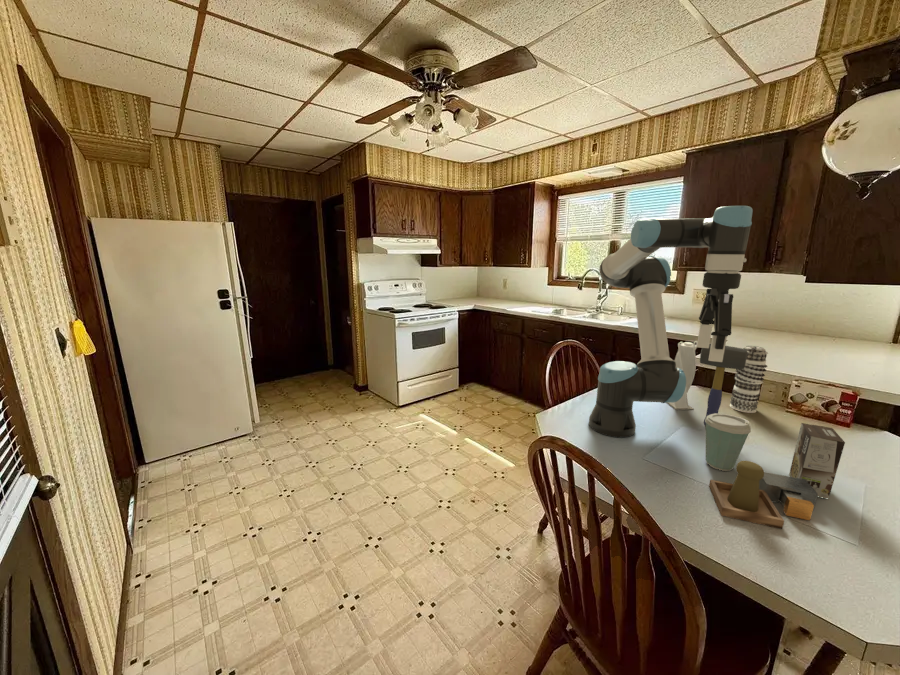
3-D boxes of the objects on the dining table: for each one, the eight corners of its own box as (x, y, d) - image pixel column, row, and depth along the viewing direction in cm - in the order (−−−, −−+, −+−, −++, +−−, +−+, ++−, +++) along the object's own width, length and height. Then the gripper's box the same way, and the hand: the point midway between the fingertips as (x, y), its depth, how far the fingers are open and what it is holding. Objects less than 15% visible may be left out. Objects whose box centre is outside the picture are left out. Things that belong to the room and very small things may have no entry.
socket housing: (763, 499, 93) (766, 484, 92) (754, 485, 98) (758, 470, 97) (813, 510, 89) (817, 493, 88) (801, 495, 94) (805, 479, 93)
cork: (721, 496, 93) (729, 457, 90) (743, 495, 93) (751, 456, 91) (741, 513, 87) (750, 472, 84) (765, 511, 88) (774, 470, 85)
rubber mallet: (731, 428, 129) (747, 346, 122) (731, 437, 123) (749, 351, 116) (689, 419, 136) (702, 340, 129) (687, 426, 130) (701, 345, 123)
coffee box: (830, 500, 92) (846, 442, 88) (795, 492, 96) (810, 435, 92) (819, 481, 100) (833, 427, 96) (787, 474, 103) (800, 421, 99)
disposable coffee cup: (691, 463, 108) (699, 416, 105) (705, 451, 115) (713, 406, 111) (734, 480, 100) (745, 430, 97) (747, 466, 107) (757, 419, 103)
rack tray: (720, 515, 87) (722, 507, 87) (708, 486, 98) (710, 479, 97) (782, 529, 83) (784, 521, 82) (762, 497, 93) (764, 490, 93)
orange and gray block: (786, 515, 87) (789, 500, 86) (767, 486, 97) (770, 473, 96) (810, 520, 85) (814, 505, 84) (788, 490, 96) (791, 477, 95)
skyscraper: (695, 411, 142) (707, 341, 136) (674, 411, 143) (685, 341, 136) (682, 402, 151) (693, 336, 144) (662, 402, 151) (672, 336, 144)
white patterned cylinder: (735, 412, 142) (748, 349, 136) (723, 402, 150) (735, 343, 144) (762, 414, 140) (776, 351, 134) (749, 404, 148) (761, 344, 143)
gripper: (760, 275, 79) (741, 369, 84) (726, 269, 101) (713, 344, 106) (718, 274, 81) (702, 365, 87) (694, 268, 104) (683, 341, 109)
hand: (708, 354), depth 96 cm, fingers open, 13 cm apart
